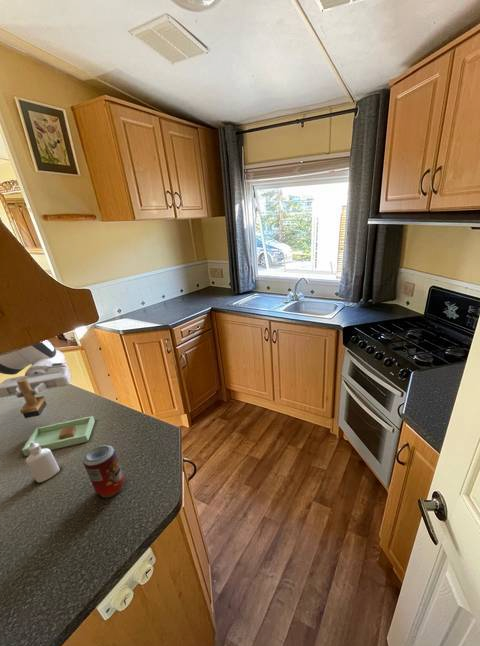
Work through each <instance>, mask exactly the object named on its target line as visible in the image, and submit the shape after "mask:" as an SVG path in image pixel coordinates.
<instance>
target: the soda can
mask: <svg viewBox="0 0 480 646" xmlns="http://www.w3.org/2000/svg"><path fill="white" fill-rule="evenodd" d="M82 464H83V466H84V468H85V470H86V472H87V475H88V478H89V480H90V482H91V484H92V487H93V490H94V491H95V493H96V494H98V495H100V496H101V497H102V498H111V497H114V496H115V495H117V494H119V492H121V491H122V489H123V488H124V483H125V475H124V473H123V472H124V471H123V469H122V467H121V464H120V461H119V459H118V456H117V453H116V450H115V448H114V447H113V446H112V445H108V444H104V445H103V444H102V445H99V446H98V445H97V446H96V447H94V448H92V449H90V450H89V451H88V452H87V453H86V454H85V455H84V456H83V458H82Z"/></svg>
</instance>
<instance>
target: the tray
mask: <svg viewBox="0 0 480 646" xmlns="http://www.w3.org/2000/svg"><path fill="white" fill-rule="evenodd" d="M95 422H96V421H95V417H94V415H91V416H85V417H81V418H77V419H72V420H67V421H62V422H57V423H54V424H53V423H52V424H49V425H43V426H38V427H35V428H34V430H33V431H32V433H31V435H30V437H28V439H27V441H26V442H25V444H24V446H23V448H22V449H21V451H22V453H23V455H24V457H26V456H27V457H28V456H30V455H31V453H30V452H29V450H28V447H29V446H30V442H31V441H33V442H34V443H38V444H39V445H40V447H41V449H44V448H48V449H49V450H51V451H52V450H57V449H61V448H65V447H69V446H74V445H78V444H83V443H86V442H89V440H90V437H91V434H92V432H93V428H94V425H95ZM73 426H76V429H77V430H76V433H75V435H74V437H69V438H65V439H61V440H60V438H59V434H60V432H61V430H62V429H64V428H69V427H73Z"/></svg>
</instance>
